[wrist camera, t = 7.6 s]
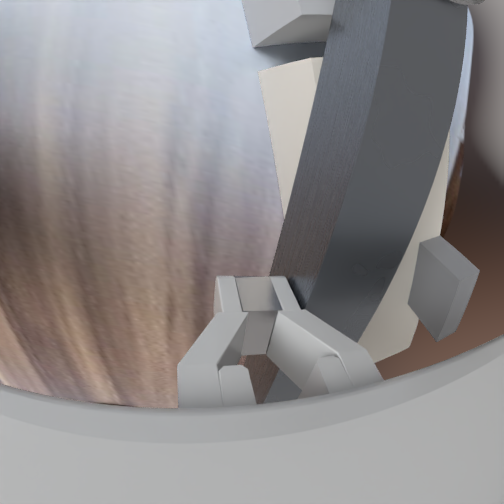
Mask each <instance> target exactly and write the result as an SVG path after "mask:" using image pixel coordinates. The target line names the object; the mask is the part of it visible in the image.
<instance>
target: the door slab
mask: <svg viewBox="0 0 504 504" xmlns="http://www.w3.org/2000/svg"><path fill="white" fill-rule="evenodd" d="M322 61H323V57H315V58H308V59H303V60H299V61H295V62H291V63H287V64H283V65H279V66H275V67H272V68H268V69H265V70H261V71H258V75H259V80H260V85H261V90H262V95H263V100H264V105H265V111H266V116H267V121H268V126H269V132H270V137H271V143H272V148H273V154H274V160H275V166H276V171H277V177H278V183H279V189H280V196H281V202H282V208H283V215H284V219H285V215H286V211H287V207H288V203H289V200H290V196H291V192H292V188H293V184H294V180H295V176H296V172H297V168H298V164H299V160H300V156H301V152H302V147H303V143H304V139H305V135H306V131H307V127H308V122H309V118H310V114H311V110H312V105H313V101H314V97H315V92H316V88H317V84H318V79H319V75H320V70H321V66H322ZM449 138H450V129H449V132H448V136H447V140H446V144H445V147H444V150H443V154H442V157H441V160H440V164H439V167H438V170H437V173H436V176H435V179H434V182H433V185H432V188H431V190H430V193H429V196H428V199H427V201H426V204H425V207H424V209H423V212H422V214H421V217H420V219H419V222H418V224H417V227H416V229H415V232H414V234H413V236H412V239H411V241H410V243H409V245H408V248H407V250H406V252H405V254H404V256H403V259H402V261H401V263H400V265H399V267H398V269H397V271H396V273H395V275H394V277H393V279H392V281H391V283H390V285H389V287H388V289H387V291H386V293H385V295H384V297H383V299H382V301H381V302H380V304H379V306H378V308H377V310H376V312H375V313H374V315H373V317H372V319H371V320H370V322H369V324H368V326H367V327H366V329H365V331H364V332H363V334H362V336H361V337H360V339H359V341H358V342H357V344H359V345H361V346H362V347H364V348H365V349H366V350H367V351H368V353H369V355H370V357H371V358H372V360H373V362H374V363H376V362H378V361H380V360H383V359H385V358H387V357H389V356H392V355H394V354H396V353H398V352H401V351H403V350H405V349H407V348H409V347H410V344H411V342H412V338H413V336H414V333H415V330H416V327H417V324H418V321H419V319H420V321H421V322H422V323H423V324H424V326H425V327H426V329H427V330H428V331H429V332H430V334H431V335H432V337H433V338H434V339H435V340H436V342H438V341H439V340H441V339H443V338H445V337H447V336H448V335H450V334H452V333H454V332H455V331H456V329H457V327H458V325H459V323H460V321H461V318H462V316H463V314H464V311H465V309H466V306H467V304H468V301H469V299H470V296H471V294H472V291H473V288H474V286H475V283H476V280H477V277H478V274H479V271H480V270H478V269H477V268H476V267H475V266H474V265H473V264H472V263H471V262H470V261H469V260H468V259H466V258H465V257H464V256H463V255H462V254H461V253H460V252H459V251H457V250H456V249H455V248H454V247H453V246H452V245H451V244H449V243H448V242H447V241H446V240H445V239H443V238H442V237H441V236H440V231H441V225H442V219H443V212H444V205H445V197H446V187H447V177H448V163H449Z"/></svg>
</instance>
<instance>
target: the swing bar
mask: <svg viewBox="0 0 504 504" xmlns="http://www.w3.org/2000/svg"><path fill="white" fill-rule="evenodd" d="M483 1H484V0H335V4H334V9H333V14H332V19H331V24H330V28H329V33H328V38H327V43H326V47H325V52H324V57H323V61H322V66H321V70H320V75H319V79H318V84H317V88H316V92H315V97H314V101H313V105H312V110H311V114H310V118H309V122H308V127H307V131H306V135H305V139H304V143H303V147H302V152H301V156H300V160H299V164H298V168H297V172H296V176H295V180H294V184H293V188H292V192H291V196H290V200H289V203H288V207H287V211H286V215H285V219H284V223H283V227H282V230H281V234H280V238H279V242H278V246H277V249H276V253H275V257H274V260H273V264H272V268H271V272H270V275H269V276H285V277H286V279H287V281H288V283H289V285H290V287H291V289H292V291H293V294H294V296H295V298H296V300H297V302H298V304H299V306H300V308H301V310H305V309H306V310H307V311H309V312H310V313H312V314H313V315H315V316H316V317H318V318H319V319H321V320H322V321H324V322H325V323H327V324H328V325H330V326H331V327H333V328H334V329H336V330H337V331H339V332H341V333H342V334H344V335H345V336H347V337H348V338H350V339H351V340H353V341H354V342H356V343H357V342H358V341H359V339H360V337H361V336H362V334H363V332H364V331H365V329H366V327H367V326H368V324H369V322H370V320H371V319H372V317H373V315H374V313H375V312H376V310H377V308H378V306H379V304H380V302H381V301H382V299H383V297H384V295H385V293H386V291H387V289H388V287H389V285H390V283H391V281H392V279H393V277H394V275H395V273H396V271H397V269H398V267H399V265H400V263H401V261H402V259H403V256H404V254H405V252H406V250H407V248H408V245H409V243H410V241H411V239H412V236H413V234H414V232H415V229H416V227H417V224H418V222H419V219H420V217H421V214H422V212H423V209H424V207H425V204H426V201H427V199H428V196H429V193H430V190H431V188H432V185H433V182H434V179H435V176H436V173H437V170H438V167H439V164H440V160H441V157H442V154H443V150H444V147H445V144H446V140H447V136H448V132H449V129H450V125H451V121H452V117H453V112H454V108H455V103H456V98H457V93H458V88H459V83H460V77H461V71H462V64H463V57H464V49H465V39H466V27H467V7H468V4H480V3H482V2H483ZM244 367H246V368H247V369H248V371H249V375H250V380H251V384H252V388H253V392H254V396H255V400H256V404H265V403H274V402H282V401H289V400H296V399H298V397H299V395H300V394H301V392H302V390H301V389H300V388H299V387H298V386H297V385H296V384H295V383H294V382H293V381H292V380H291V379H290V378H289V377H288V376H287V375H286V374H285V373H284V372H283V371H282V370H281V369H280V368H279V367H278V366H277V365H276V364H275V363H273V362H272V360H271V359H270V358H269V357H268V356H267V355H266V354H256V355H247V357H246V360H245V363H244Z"/></svg>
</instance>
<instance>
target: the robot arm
mask: <svg viewBox="0 0 504 504" xmlns="http://www.w3.org/2000/svg"><path fill="white" fill-rule="evenodd" d="M256 354H266V355H267V356H268V357H269V358H270V359H271V360H272V362H273V363H275V364H276V365H277V366H278V367H279V368H280V369H281V370H282V371H283V372H284V373H285V374H286V375H287V376H288V377H289V378H290V379H291V380H292V381H293V382H294V383H295V384H296V385H297V386H298V387H299V388H300V389H301V390H302V392H301V394H300V395H299V397H298V399H296V400H289V401H282V402H274V403H265V404H256V400H255V396H254V392H253V388H252V384H251V380H250V375H249V371H248V369H247V368H246V367H244V366H242V365H237V364H238V362H239V360H240V358H241V356H242V355H256ZM177 373H178V407H179V408H148V407H131V406H118V405H108V404H99V403H91V402H83V401H77V400H70V399H64V398H59V397H54V396H48V395H44V394H39V393H34V392H30V391H26V390H22V389H18V388H14V387H11V386H7V385H3V384H0V504H504V334H503V335H501V336H499V337H497V338H495V339H493V340H491V341H489V342H487V343H485V344H483V345H480V346H478V347H476V348H474V349H471V350H469V351H467V352H464V353H462V354H460V355H457V356H455V357H452V358H450V359H447V360H445V361H442V362H439V363H437V364H434V365H431V366H428V367H426V368H422V369H419V370H416V371H413V372H410V373H408V374H404V375H401V376H398V377H394V378H391V379H387V380H383V378H382V376H381V374H380V373H379V371H378V369H377V367H376V366H375V364H374V362H373V360H372V358H371V357H370V355H369V353H368V351H367V350H366V349H365V348H364V347H362V346H361V345H359V344H357V343H356V342H354V341H353V340H351V339H350V338H348V337H347V336H345V335H344V334H342V333H341V332H339V331H337V330H336V329H334V328H333V327H331V326H330V325H328V324H327V323H325V322H324V321H322V320H321V319H319V318H318V317H316V316H315V315H313V314H312V313H310V312H309V311H307V310H306V309H305V310H301V308H300V306H299V304H298V302H297V300H296V298H295V296H294V294H293V291H292V289H291V287H290V285H289V283H288V281H287V279H286V277H285V276H268V277H259V276H217V277H216V282H215V295H214V318H213V319H212V320H211V322H210V323H209V324H208V326H207V327H206V328H205V330H204V331H203V332H202V334H201V335H200V336H199V337H198V339H197V340H196V341H195V343H194V344H193V345H192V347H191V348H190V349H189V351H188V352H187V353H186V355H185V356H184V357H183V358H182V360H181V361H180V362H179V364H178V365H177Z"/></svg>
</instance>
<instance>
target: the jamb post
mask: <svg viewBox="0 0 504 504" xmlns="http://www.w3.org/2000/svg"><path fill="white" fill-rule="evenodd" d="M242 4H243V8H244V12H245V17H246V21H247V25H248V30H249V34H250V38H251V43H252V47H253V48H255V47H262V46H271V45H280V44H291V43H307V42H327V38H328V33H329V28H330V24H331V19H332V14H333V9H334V4H335V0H242Z"/></svg>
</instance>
